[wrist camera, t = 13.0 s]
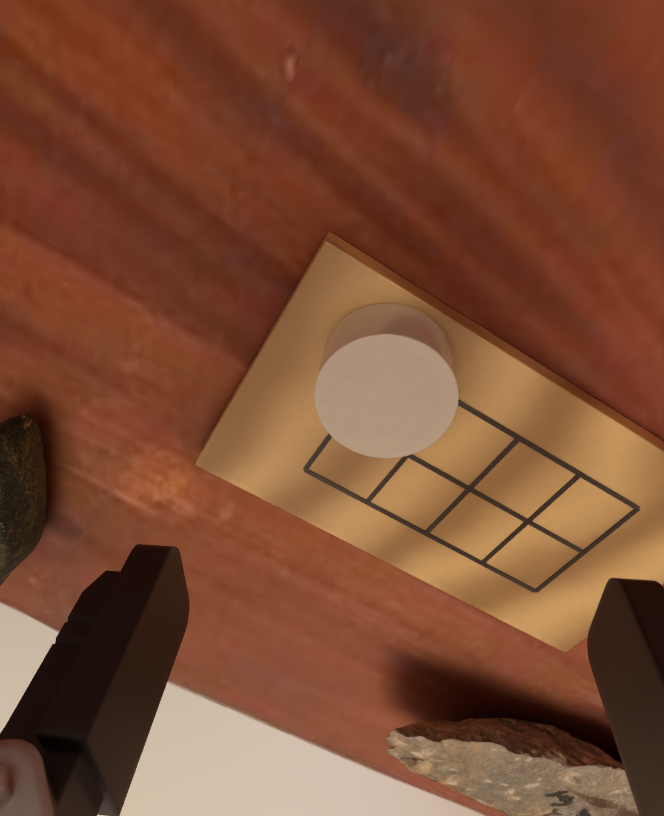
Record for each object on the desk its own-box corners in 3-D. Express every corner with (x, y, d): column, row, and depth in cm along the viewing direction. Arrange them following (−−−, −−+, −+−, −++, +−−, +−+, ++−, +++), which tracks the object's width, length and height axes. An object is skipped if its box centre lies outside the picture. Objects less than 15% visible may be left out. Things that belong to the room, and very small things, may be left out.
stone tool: (739, 777, 36) (478, 610, 27) (787, 865, 32) (500, 705, 23) (569, 838, 41) (305, 716, 33) (593, 920, 38) (301, 807, 29)
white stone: (299, 379, 21) (288, 416, 19) (367, 277, 19) (362, 306, 16) (403, 437, 22) (404, 480, 20) (478, 347, 20) (489, 383, 17)
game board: (201, 448, 25) (192, 466, 24) (329, 230, 19) (324, 240, 18) (559, 632, 29) (565, 654, 27) (748, 493, 23) (765, 514, 22)
